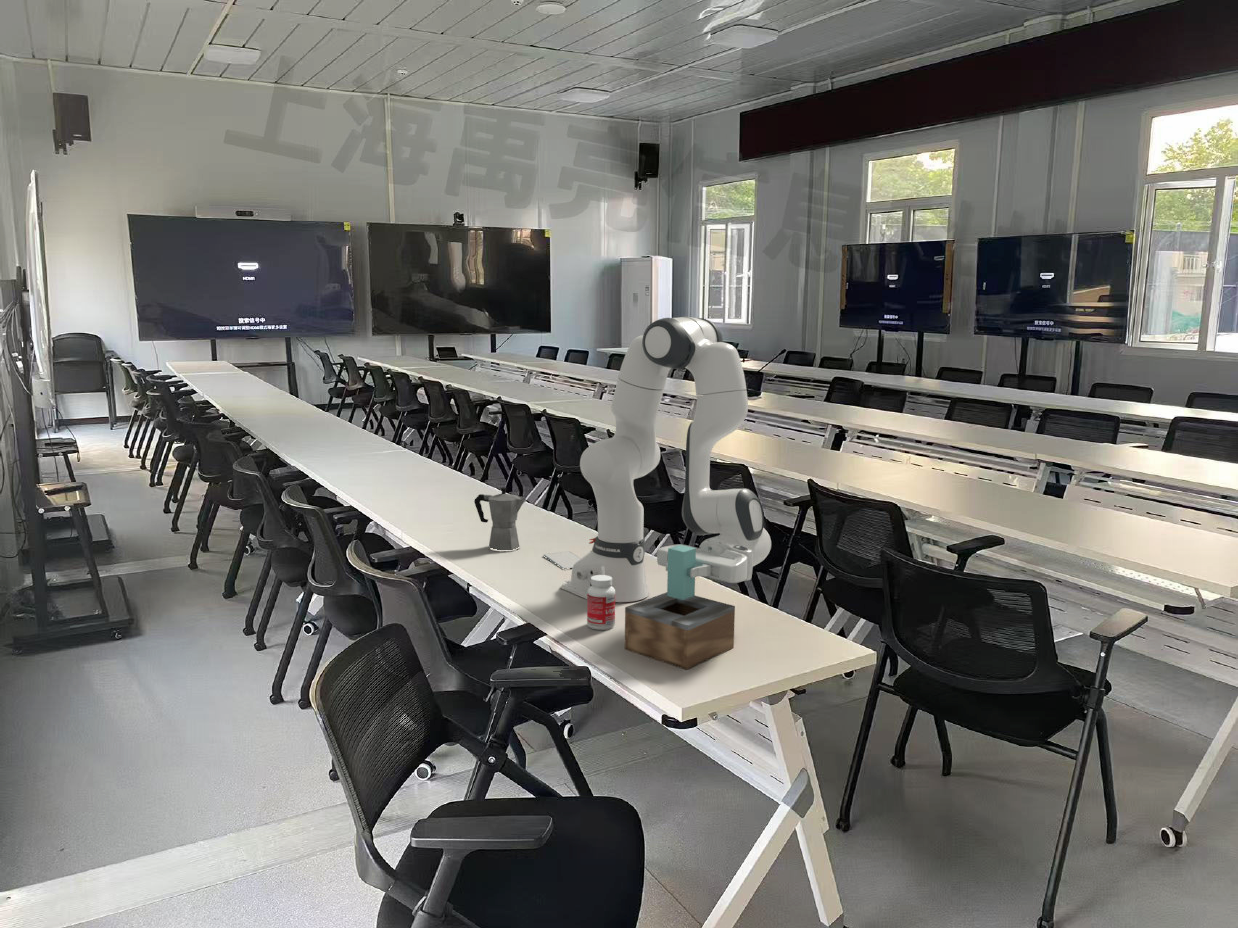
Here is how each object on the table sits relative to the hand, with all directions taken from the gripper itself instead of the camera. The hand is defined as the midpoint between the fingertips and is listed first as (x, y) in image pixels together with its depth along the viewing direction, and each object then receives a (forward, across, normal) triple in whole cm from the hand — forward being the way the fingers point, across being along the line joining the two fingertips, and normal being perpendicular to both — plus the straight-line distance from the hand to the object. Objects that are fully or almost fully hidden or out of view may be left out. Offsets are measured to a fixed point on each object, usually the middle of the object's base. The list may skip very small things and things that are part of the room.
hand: (678, 570), depth 186 cm
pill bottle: (0, -21, +17) cm, 27 cm away
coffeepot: (-29, -87, +18) cm, 93 cm away
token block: (-1, 0, +6) cm, 6 cm away
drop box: (-1, 0, +17) cm, 17 cm away
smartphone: (-32, -63, +18) cm, 73 cm away
